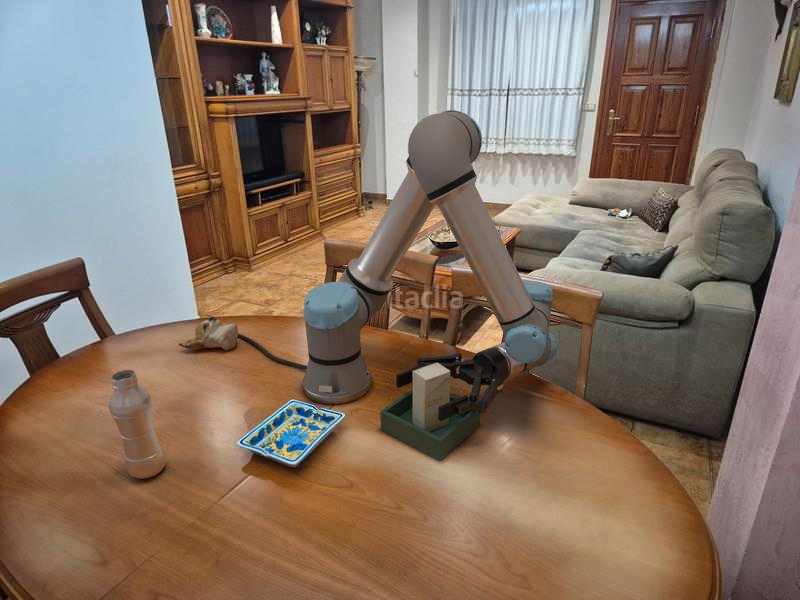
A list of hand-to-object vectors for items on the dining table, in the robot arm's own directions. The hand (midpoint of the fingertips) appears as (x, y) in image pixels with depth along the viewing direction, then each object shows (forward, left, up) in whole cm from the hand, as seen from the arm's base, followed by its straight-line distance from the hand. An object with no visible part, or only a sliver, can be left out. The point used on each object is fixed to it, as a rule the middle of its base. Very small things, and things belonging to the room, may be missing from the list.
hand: (417, 397), depth 97 cm
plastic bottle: (-31, -39, -9) cm, 50 cm away
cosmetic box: (+1, +3, -8) cm, 9 cm away
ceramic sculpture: (-65, -5, -9) cm, 66 cm away
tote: (+1, +3, -9) cm, 9 cm away
